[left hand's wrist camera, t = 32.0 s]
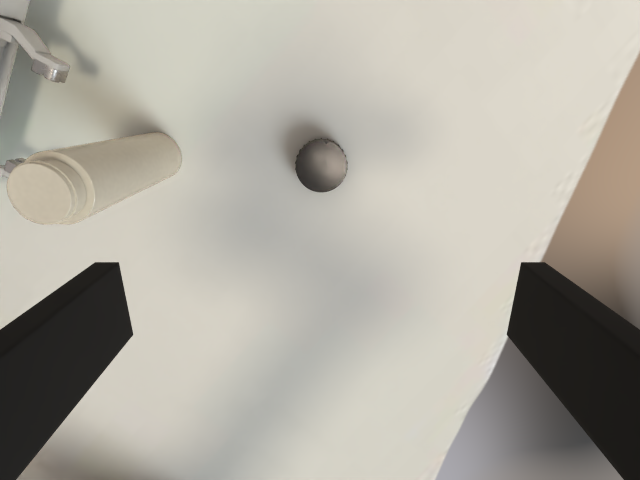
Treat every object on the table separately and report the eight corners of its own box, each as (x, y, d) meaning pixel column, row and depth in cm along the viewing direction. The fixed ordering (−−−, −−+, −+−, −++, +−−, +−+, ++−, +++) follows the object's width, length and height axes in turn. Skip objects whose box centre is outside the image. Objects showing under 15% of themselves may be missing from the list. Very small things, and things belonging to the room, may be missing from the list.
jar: (153, 121, 37) (23, 136, 21) (191, 155, 39) (95, 195, 22) (126, 155, 39) (-18, 194, 22) (163, 187, 40) (52, 247, 23)
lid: (285, 166, 39) (284, 169, 37) (319, 126, 38) (319, 128, 36) (323, 199, 40) (323, 203, 38) (357, 161, 39) (358, 164, 37)
